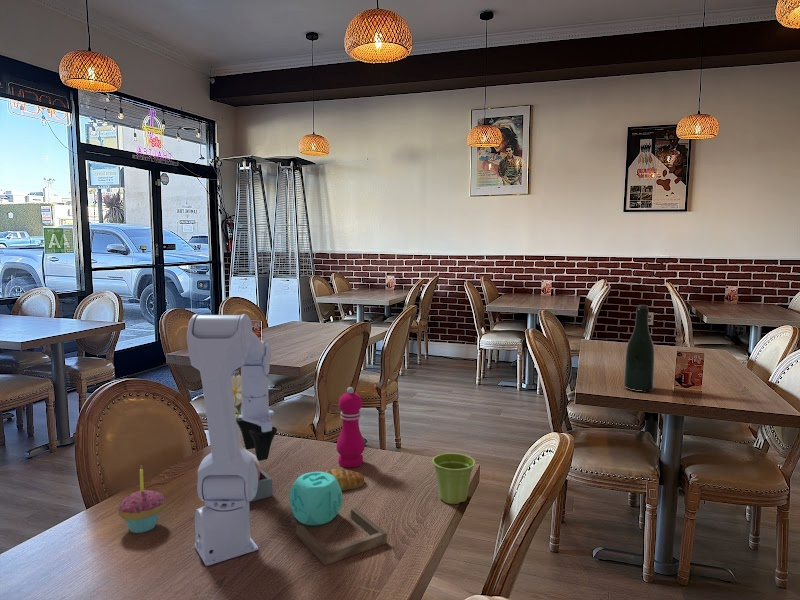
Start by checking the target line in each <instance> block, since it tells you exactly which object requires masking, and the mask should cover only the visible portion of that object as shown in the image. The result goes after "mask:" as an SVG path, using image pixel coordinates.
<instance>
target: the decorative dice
mask: <svg viewBox="0 0 800 600" xmlns="http://www.w3.org/2000/svg"><path fill="white" fill-rule="evenodd" d="M288 497H289V505H290V509H291V511H292V514H293V515H294V518H295V519H296V520H297V521H298V522H299V523H301V524H302V525H305V526H321V525H325V524H327V523H329V522H331V521H332V520H333V519H334V518H335V517H337V515H338V514H339V512H340V510H341V507H342V503H343V493H342V490H341V488H340V485H339V483H338V481H337V480H336V478H335V477H334V476H333V475H331V474H329V473H326V471H325V472H324V471H311V472H307V473H303V474H301V475H300V476H298V477H297V478H296V480H294V482H293V484H292V486H291V487H290V490H289V496H288Z"/></svg>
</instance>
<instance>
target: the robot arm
mask: <svg viewBox="0 0 800 600" xmlns="http://www.w3.org/2000/svg"><path fill="white" fill-rule="evenodd" d="M248 315H249V314H247V313H246V314H245V313H242V314H200V313H196V314H193V315H192V316H191V318H190V319H189V321H188V324H187V332H186V344H187V350H188V357H189V360H190V366H191V367H193V368H194V369H196V370H198V371H199V373H200V379H201V385H202V392H203V400H204V406H205V414H206V421H207V430H208V437H209V443H210V451H211V452H210V453H208V454H207V455H206V456H205V457H204V458H203V459H202V460H201V462H200V464H199V466H198V469H197V485H196V488H197V489H196V491H197V496H198V498H199V499H200V501H201V502H204V506H201V507H200V508H196V509H195V512H194V536H195V540H194V542H195V543H194V548H195V550H196V551H197V553H198V555H199V556H200V558H201V560H202V562H203V563H204V565H205V566H207V567H208V566H211V565H214V564H218V563H221V562H224V561H227V560H230V559H234V558H237V557H240V556H243V555H246V554H249V553H252V552H255V551H258V549H259V547H258V545H257V543H255V542H254V540H253V539H252V538H251V522H250V521H251V520H250V517H251V516H250V502H249V501H252V500H253V498H254V497H255V496H256V493H257V488H258V471H257V469H256V466H255V461H254V459H253V457H252V456H251V455H249V454H248V453H246V452H244V451H243V450H241V449H240V448H239V441H238V432H237V424H238V425H239V427H240V430H241V433H240V434H242V435H241V436H242V440H243V444H244V448H245V449H246V450H247V451H249V450H251V449H252V450H253V449H254V452H255V456H256V457H257V460H258V461H260V462H261V461H265V460H268V458H269V453H270V450H271V445H272V443H273V440H274V437H275V435H276V434H277V432H278V429H277V427H275V426H273V422H272V421H271V416H274V415H275V412H274V410H272V409H270V406H269V405H270V404H269V402H270V401H269V399H270V398H269V373H270V366H271V364H270V363H271V357H272V350H271V349H272V348H271V344H270V343H269V342H267V341H266V340H261V339H260V338H259V337H258V336H257V334H256V333H255V332H254V331H253V325H252V320H251V318H250V317H249V316H248ZM239 368H240V376H241V389H242V406H241V405H240V408H241V412H240V415H241V418H237V419H236V415H237V413H236V412H235V408H236V406H235V404H234V396H233V387H232V376H233V372H234V371H236V370H237V369H239ZM236 422H237V423H236ZM252 502H253V501H252Z"/></svg>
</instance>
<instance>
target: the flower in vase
mask: <svg viewBox="0 0 800 600" xmlns="http://www.w3.org/2000/svg"><path fill="white" fill-rule="evenodd" d="M231 378H232V387H233V396H234V405H235V414H236V419H237V418H241V406H242V389H241V374H238V375H237V376H235V375H231ZM239 405H240V408H239V410H238V408H236V407H237V406H239ZM236 423H237V422H236ZM237 432H238V441H239V448H240V449H241V450H243V451H244V452H246V453H248V454H249V455H251V456H252V457H253V459H254V461H255V462H256V463H257V464H258V465H259V467H261V461H258V460H257V457H256V454H254V453H252V452H250V451H249V450H247V449H246V448H245V447H243V445H242V441H241V434H242V433H241V430H240V427H239V425H238V424H237Z"/></svg>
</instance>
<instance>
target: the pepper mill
mask: <svg viewBox="0 0 800 600" xmlns="http://www.w3.org/2000/svg"><path fill="white" fill-rule="evenodd" d="M338 407H339V410H340V411H341V412H340V418H341V420H342V425H341V430H340V433H339V436H338V438H337V441H336V451H337V452H338V454H339V455H338V459H337V460H338V461H337V462H338V465H339V466H341V468H345V467H348V468H347V469H352V468H351V467H354V468H357V467H361V466H362V465H363V464H362V463H364V456H363V453H364V452H365V441H364V437H363V435H362V433H361V430H360V425H359V423H360V422H359V420H360V418H361V411H360V410H361V409H362V407H363V399H362V397H361V396H360V395H359V394H358V393H356V392H355V390H354V388H353V387H352V386H348V387H347V390H346V393H343V394H342V395H341V396H340V397H339V399H338ZM361 464H362V465H361Z"/></svg>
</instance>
